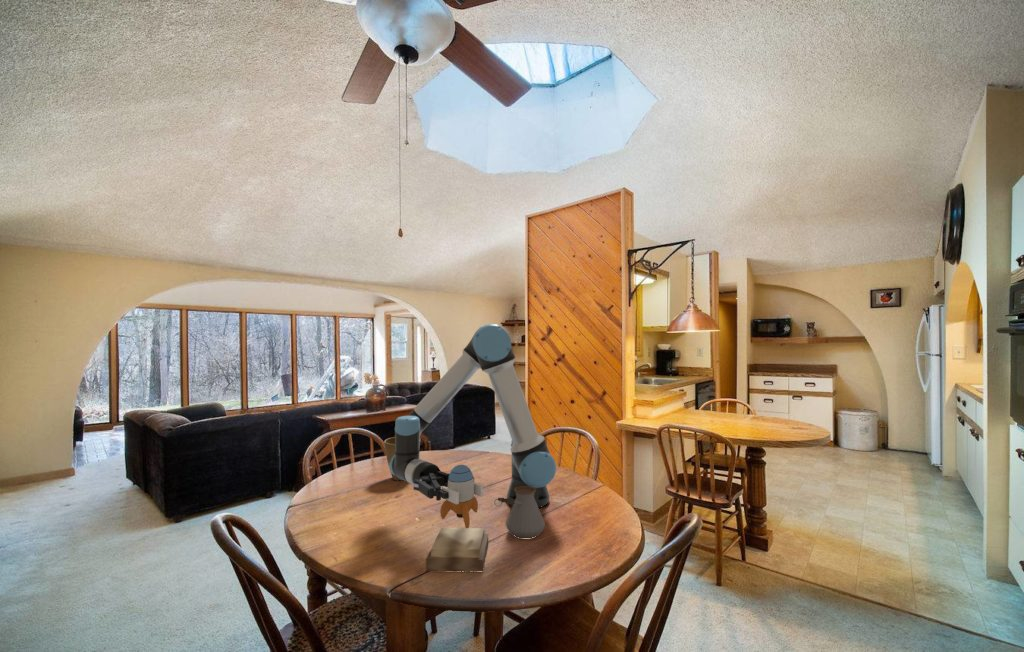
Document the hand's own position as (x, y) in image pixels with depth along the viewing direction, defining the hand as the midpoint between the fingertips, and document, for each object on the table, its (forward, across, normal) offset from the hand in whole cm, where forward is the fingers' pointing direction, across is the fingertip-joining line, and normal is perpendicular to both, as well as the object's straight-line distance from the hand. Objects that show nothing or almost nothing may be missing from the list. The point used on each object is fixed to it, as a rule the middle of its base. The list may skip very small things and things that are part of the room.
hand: (469, 494), depth 106 cm
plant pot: (-76, -21, -18) cm, 80 cm away
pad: (-5, 0, -17) cm, 18 cm away
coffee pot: (-1, -18, -18) cm, 25 cm away
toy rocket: (-5, 0, -8) cm, 9 cm away
